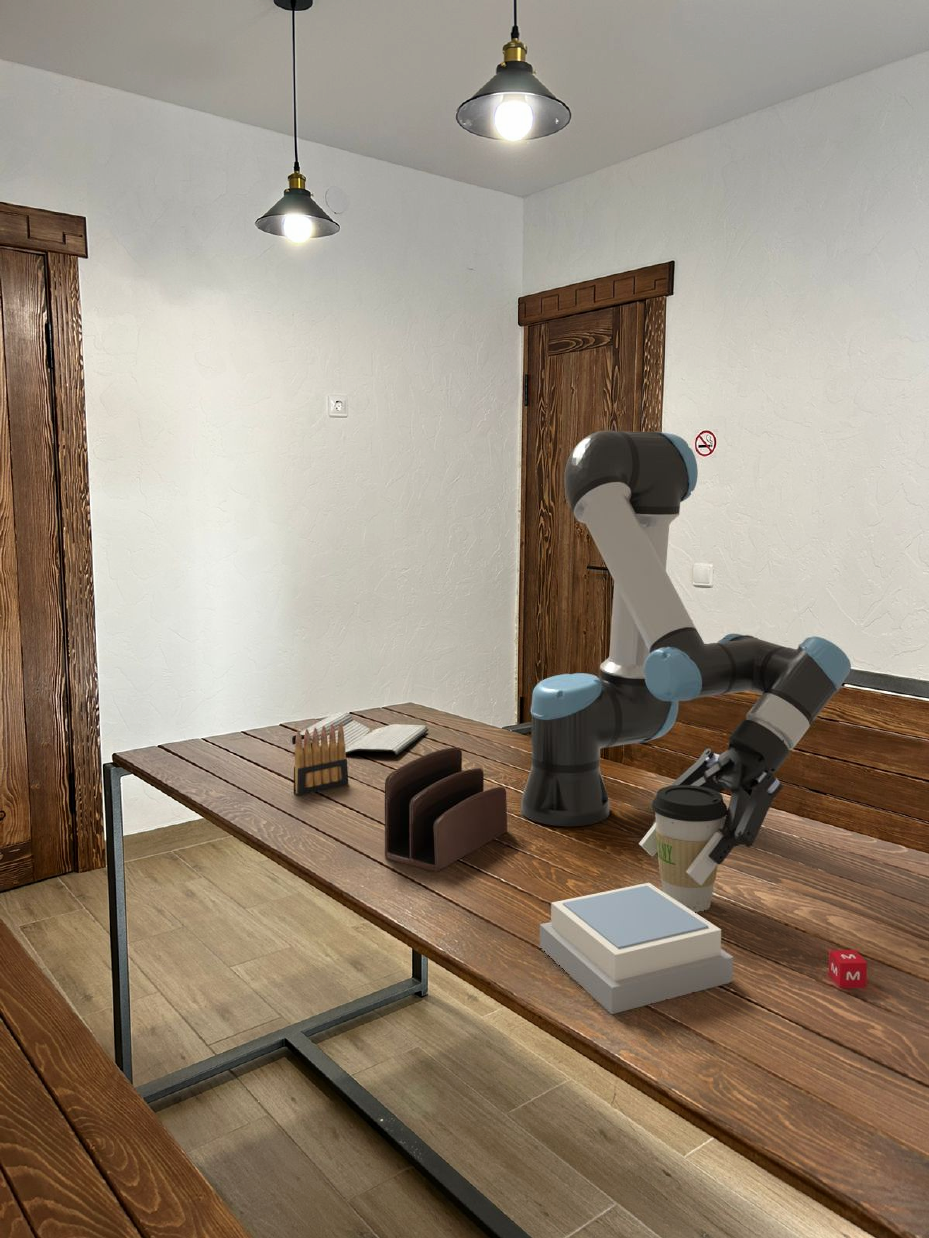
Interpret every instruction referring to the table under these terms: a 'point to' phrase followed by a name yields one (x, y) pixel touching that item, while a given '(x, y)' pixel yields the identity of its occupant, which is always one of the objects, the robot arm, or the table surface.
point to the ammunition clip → (320, 762)
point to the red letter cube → (847, 968)
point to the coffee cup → (686, 839)
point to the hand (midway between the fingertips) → (668, 863)
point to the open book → (376, 740)
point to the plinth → (637, 984)
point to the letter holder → (440, 811)
